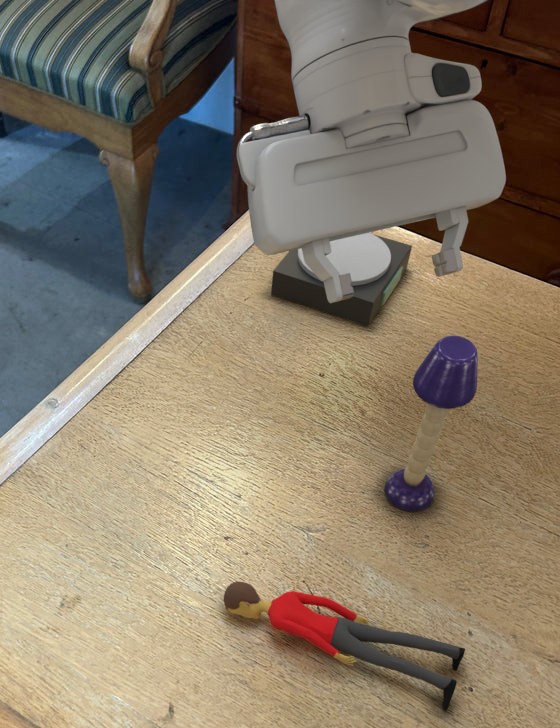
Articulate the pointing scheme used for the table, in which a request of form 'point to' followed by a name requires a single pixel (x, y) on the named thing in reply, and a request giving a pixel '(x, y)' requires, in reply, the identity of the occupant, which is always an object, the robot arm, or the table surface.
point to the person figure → (342, 632)
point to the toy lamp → (434, 416)
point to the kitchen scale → (348, 255)
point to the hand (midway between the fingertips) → (396, 287)
